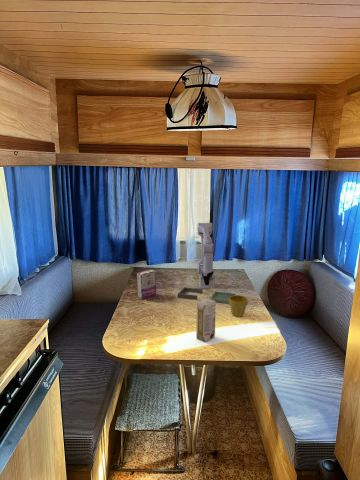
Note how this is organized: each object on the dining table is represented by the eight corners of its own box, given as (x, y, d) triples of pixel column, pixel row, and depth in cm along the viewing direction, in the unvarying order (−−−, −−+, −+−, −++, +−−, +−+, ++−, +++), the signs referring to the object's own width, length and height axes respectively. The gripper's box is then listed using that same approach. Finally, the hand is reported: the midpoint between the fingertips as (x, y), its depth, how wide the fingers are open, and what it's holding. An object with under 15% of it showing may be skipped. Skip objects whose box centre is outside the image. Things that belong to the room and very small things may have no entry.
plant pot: (245, 319, 199) (246, 302, 197) (226, 317, 202) (227, 300, 200) (248, 312, 209) (249, 296, 207) (230, 310, 212) (230, 294, 210)
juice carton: (217, 337, 179) (217, 300, 175) (206, 343, 172) (206, 305, 168) (204, 332, 184) (205, 296, 180) (193, 338, 177) (194, 301, 173)
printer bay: (184, 290, 244) (184, 287, 243) (202, 292, 240) (202, 289, 239) (177, 297, 232) (177, 293, 231) (197, 299, 228) (197, 296, 227)
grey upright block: (202, 284, 234) (202, 276, 233) (214, 286, 231) (214, 277, 230) (200, 287, 230) (200, 278, 229) (212, 288, 227) (213, 279, 226)
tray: (214, 294, 237) (214, 291, 237) (235, 296, 233) (235, 293, 233) (209, 301, 225) (209, 298, 224) (231, 304, 221) (231, 301, 220)
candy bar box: (151, 293, 239) (151, 269, 235) (156, 295, 235) (156, 270, 232) (137, 297, 232) (136, 272, 229) (141, 299, 228) (141, 274, 225)
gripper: (205, 259, 235) (204, 279, 238) (198, 265, 222) (198, 286, 225) (215, 260, 233) (215, 280, 236) (210, 266, 220) (209, 287, 223)
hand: (207, 283), depth 230 cm, fingers closed on grey upright block, 4 cm apart
